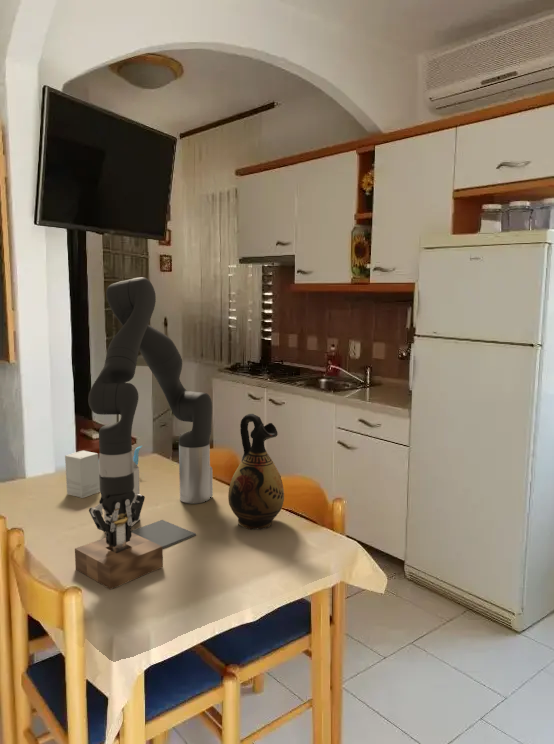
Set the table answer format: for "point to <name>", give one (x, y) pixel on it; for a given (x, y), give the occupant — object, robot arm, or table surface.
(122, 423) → the robot arm
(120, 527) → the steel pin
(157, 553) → the walnut block
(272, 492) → the ceramic jug
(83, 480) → the supplement box
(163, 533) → the rubber mat
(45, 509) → the table surface
